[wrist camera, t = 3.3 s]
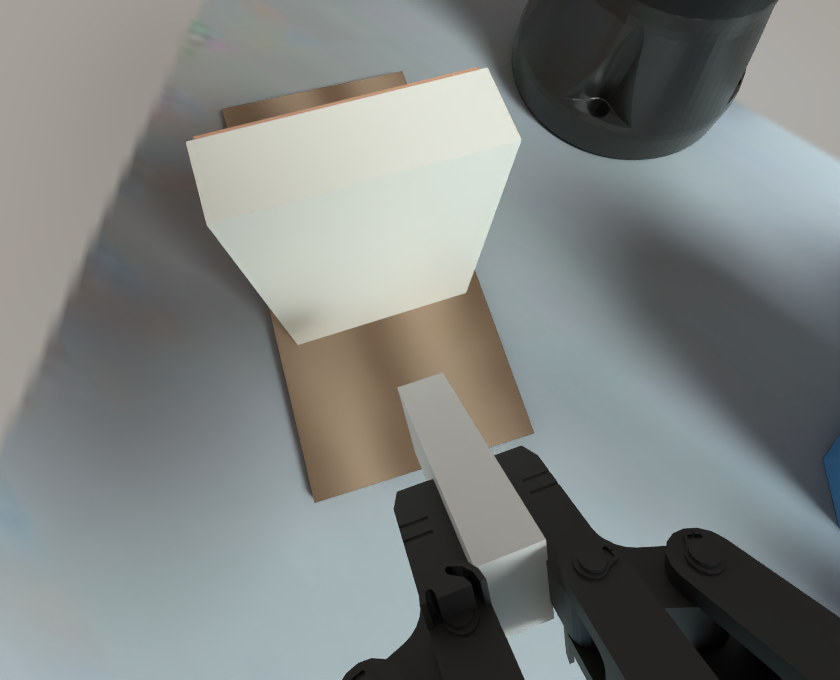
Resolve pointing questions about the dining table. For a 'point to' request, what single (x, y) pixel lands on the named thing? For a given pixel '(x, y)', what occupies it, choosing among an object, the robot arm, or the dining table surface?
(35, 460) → the dining table surface
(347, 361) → the walnut board
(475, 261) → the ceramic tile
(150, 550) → the dining table surface
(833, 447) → the water bottle
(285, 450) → the dining table surface
